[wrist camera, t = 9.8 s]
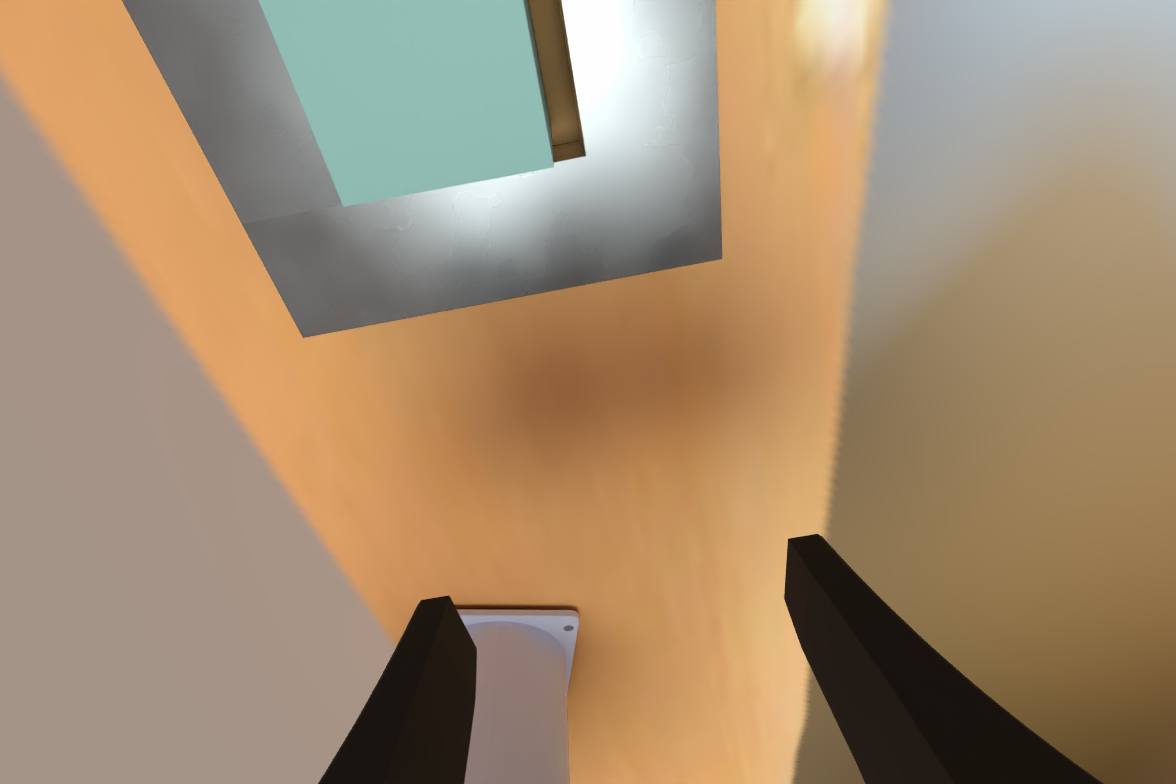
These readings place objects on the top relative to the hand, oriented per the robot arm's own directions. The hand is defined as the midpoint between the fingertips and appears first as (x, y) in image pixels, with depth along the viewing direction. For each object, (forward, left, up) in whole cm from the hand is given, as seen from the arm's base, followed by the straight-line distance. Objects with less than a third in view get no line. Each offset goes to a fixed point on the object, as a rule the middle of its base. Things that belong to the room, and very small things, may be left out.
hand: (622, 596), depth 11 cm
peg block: (+9, +5, -10) cm, 14 cm away
